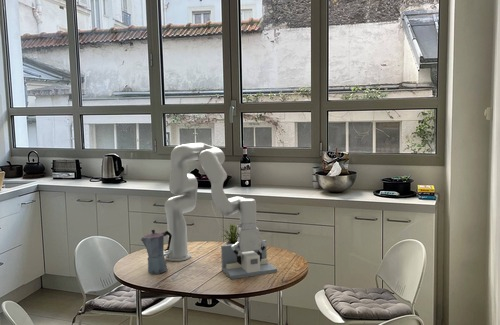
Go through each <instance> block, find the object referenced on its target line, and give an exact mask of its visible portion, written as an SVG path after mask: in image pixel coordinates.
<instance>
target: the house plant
mask: <svg viewBox="0 0 500 325" xmlns="http://www.w3.org/2000/svg"><path fill="white" fill-rule="evenodd" d="M229 225H230V226H229V231H228V230H227V228H226V227H225V226H223V225H221V227H222V228H221V229H220V230H222V231H224V232H225V234H223V235H222V236H221V238H222V237H223V238H224V241H225V240H226V242H225V243H226V244H225V245H230V244H235V243H237V242H238V232H239V230H238V227H237V224H235V223H233V224H232V223H231V222H229ZM223 228H224V230H223ZM237 230H238V231H237ZM229 232H230V233H229Z"/></svg>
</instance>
